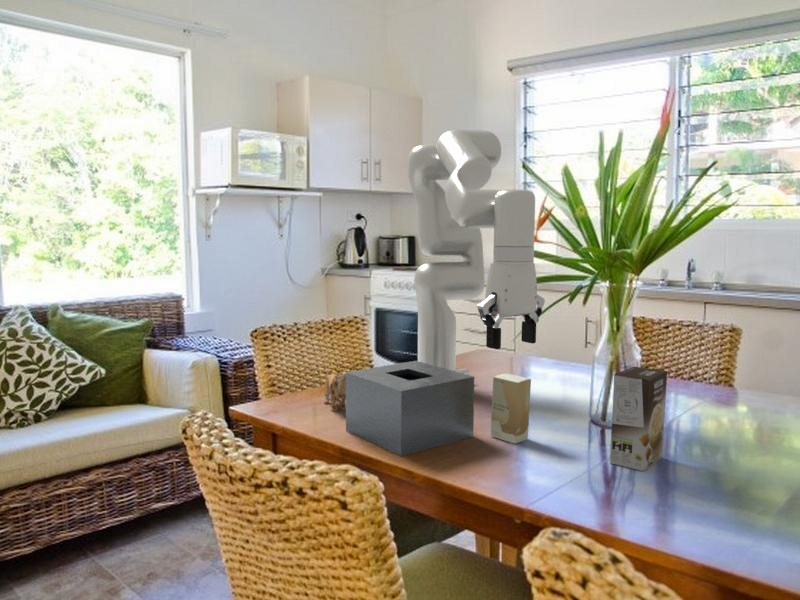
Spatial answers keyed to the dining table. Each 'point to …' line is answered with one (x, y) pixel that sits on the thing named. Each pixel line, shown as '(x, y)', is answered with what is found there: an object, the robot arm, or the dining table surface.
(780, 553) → the dining table surface
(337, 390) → the tan spotted animal figure
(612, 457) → the coffee box
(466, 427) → the box
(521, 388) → the skincare box
